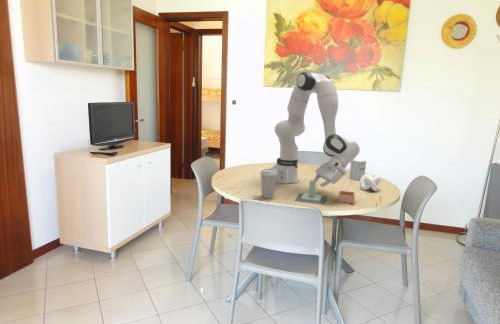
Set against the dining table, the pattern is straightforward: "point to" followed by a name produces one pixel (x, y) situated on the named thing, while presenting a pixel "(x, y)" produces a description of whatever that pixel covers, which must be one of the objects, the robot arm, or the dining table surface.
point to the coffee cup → (268, 182)
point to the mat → (323, 201)
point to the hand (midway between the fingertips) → (317, 184)
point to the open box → (346, 197)
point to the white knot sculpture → (369, 182)
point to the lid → (311, 193)
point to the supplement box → (357, 169)
